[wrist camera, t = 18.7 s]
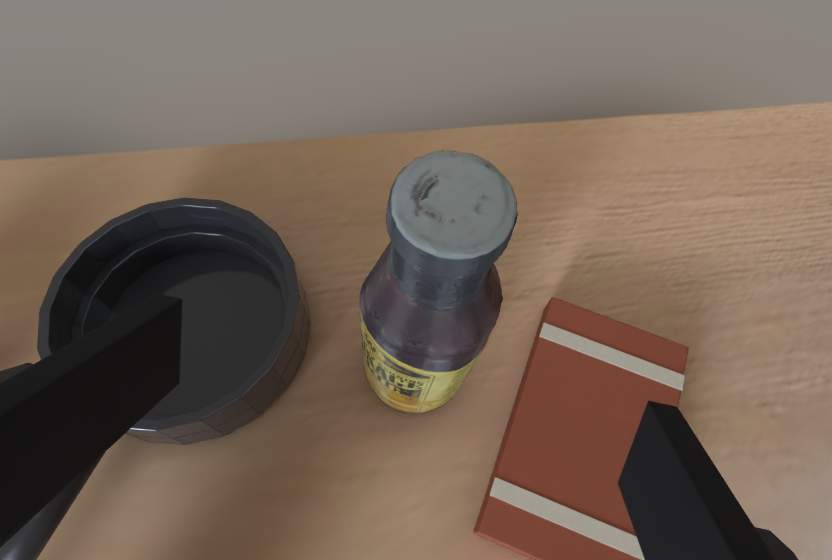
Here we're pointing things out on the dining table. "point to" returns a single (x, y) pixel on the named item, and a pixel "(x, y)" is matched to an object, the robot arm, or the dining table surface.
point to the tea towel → (576, 437)
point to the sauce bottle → (435, 279)
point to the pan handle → (44, 522)
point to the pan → (191, 308)
